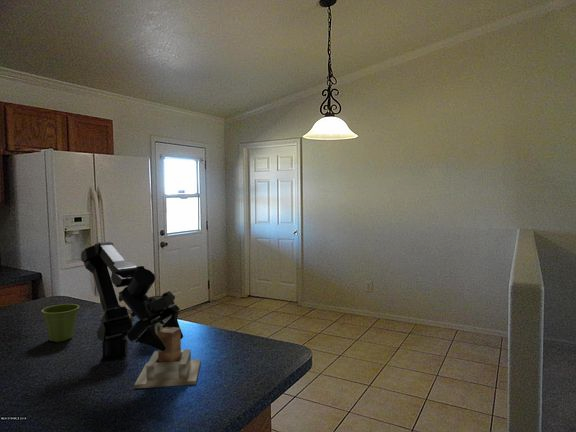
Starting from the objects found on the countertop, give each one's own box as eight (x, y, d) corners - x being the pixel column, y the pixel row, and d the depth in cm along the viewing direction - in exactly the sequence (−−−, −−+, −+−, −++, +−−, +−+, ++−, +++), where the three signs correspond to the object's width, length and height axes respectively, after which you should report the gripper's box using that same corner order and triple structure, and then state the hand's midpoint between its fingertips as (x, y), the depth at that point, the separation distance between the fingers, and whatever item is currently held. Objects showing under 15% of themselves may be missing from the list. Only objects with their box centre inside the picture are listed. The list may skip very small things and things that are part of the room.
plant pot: (50, 347, 128) (49, 315, 128) (36, 339, 135) (35, 309, 135) (86, 337, 138) (85, 307, 137) (71, 330, 145) (70, 302, 144)
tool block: (134, 388, 100) (134, 369, 100) (146, 365, 114) (146, 349, 114) (195, 384, 102) (195, 366, 102) (200, 362, 116) (200, 346, 116)
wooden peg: (158, 373, 106) (157, 331, 106) (167, 366, 111) (166, 326, 110) (172, 375, 105) (172, 333, 105) (181, 368, 110) (180, 327, 109)
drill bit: (136, 327, 150) (118, 314, 144) (125, 331, 151) (107, 319, 145) (139, 316, 154) (121, 303, 148) (128, 320, 156) (111, 308, 149)
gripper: (135, 292, 99) (173, 337, 97) (173, 278, 117) (206, 315, 115) (110, 319, 101) (147, 364, 99) (152, 301, 119) (183, 339, 117)
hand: (173, 343), depth 107 cm, fingers open, 9 cm apart
